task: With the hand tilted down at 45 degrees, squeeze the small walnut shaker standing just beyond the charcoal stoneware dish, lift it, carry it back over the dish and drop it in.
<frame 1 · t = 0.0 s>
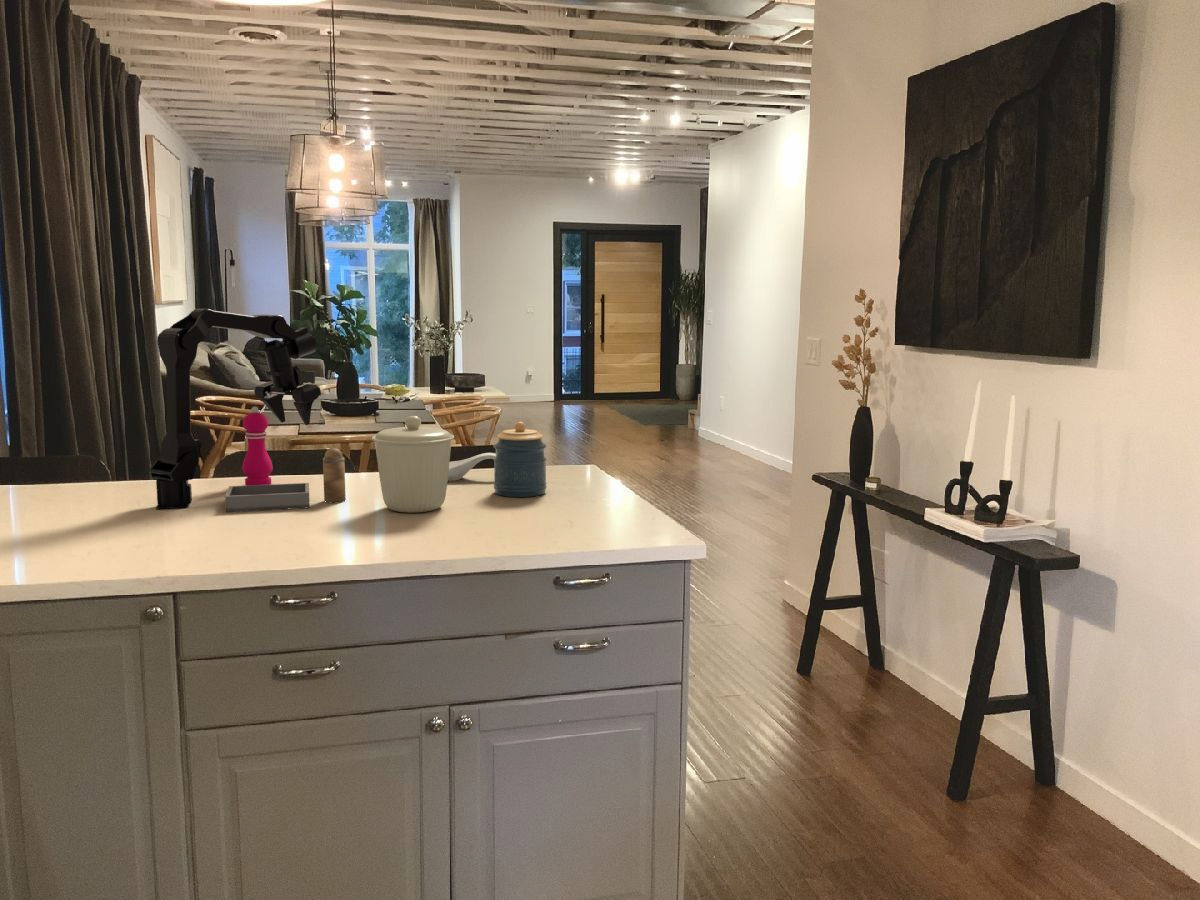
hand: (295, 423, 239), 15 cm above the table, tool pointing down, fingers open, 9 cm apart
canister: (414, 509, 212), on the table
pepper mill: (258, 485, 238), on the table
spoon rest: (469, 480, 250), on the table
dish: (269, 504, 215), on the table
canister 2: (520, 493, 232), on the table
shaker: (335, 500, 220), on the table
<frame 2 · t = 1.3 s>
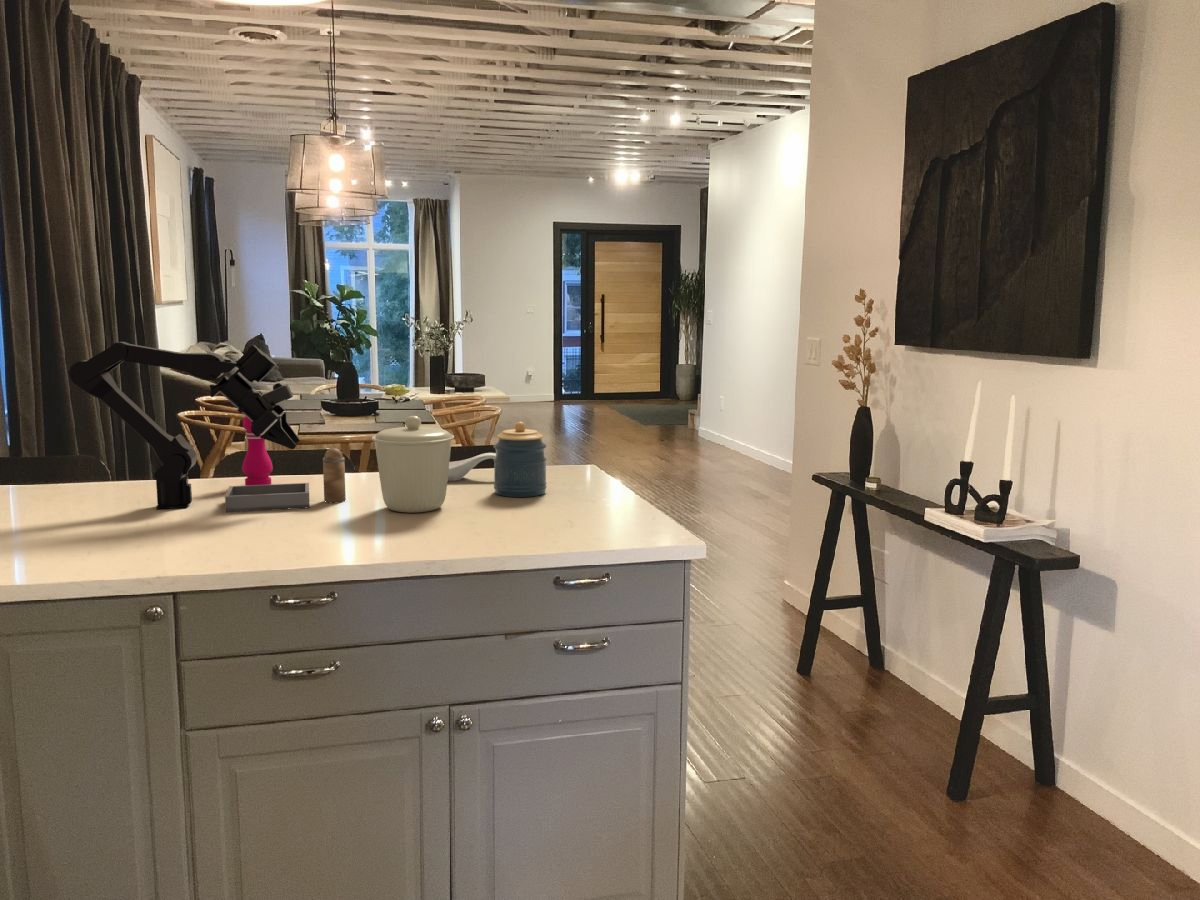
hand: (296, 444, 216), 13 cm above the table, tool tilted 45°, fingers open, 9 cm apart
nothing on the table moved.
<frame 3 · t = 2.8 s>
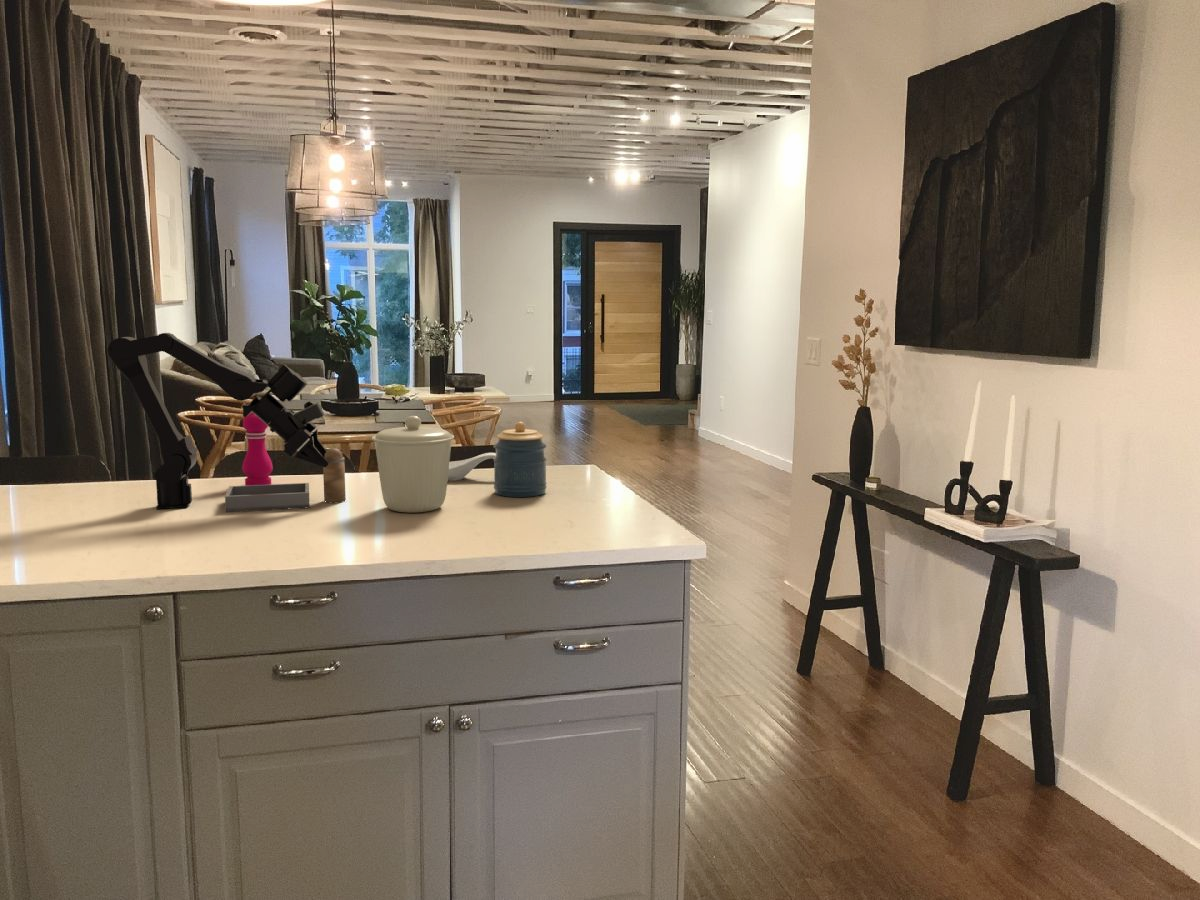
hand: (328, 462, 218), 9 cm above the table, tool tilted 45°, fingers open, 9 cm apart
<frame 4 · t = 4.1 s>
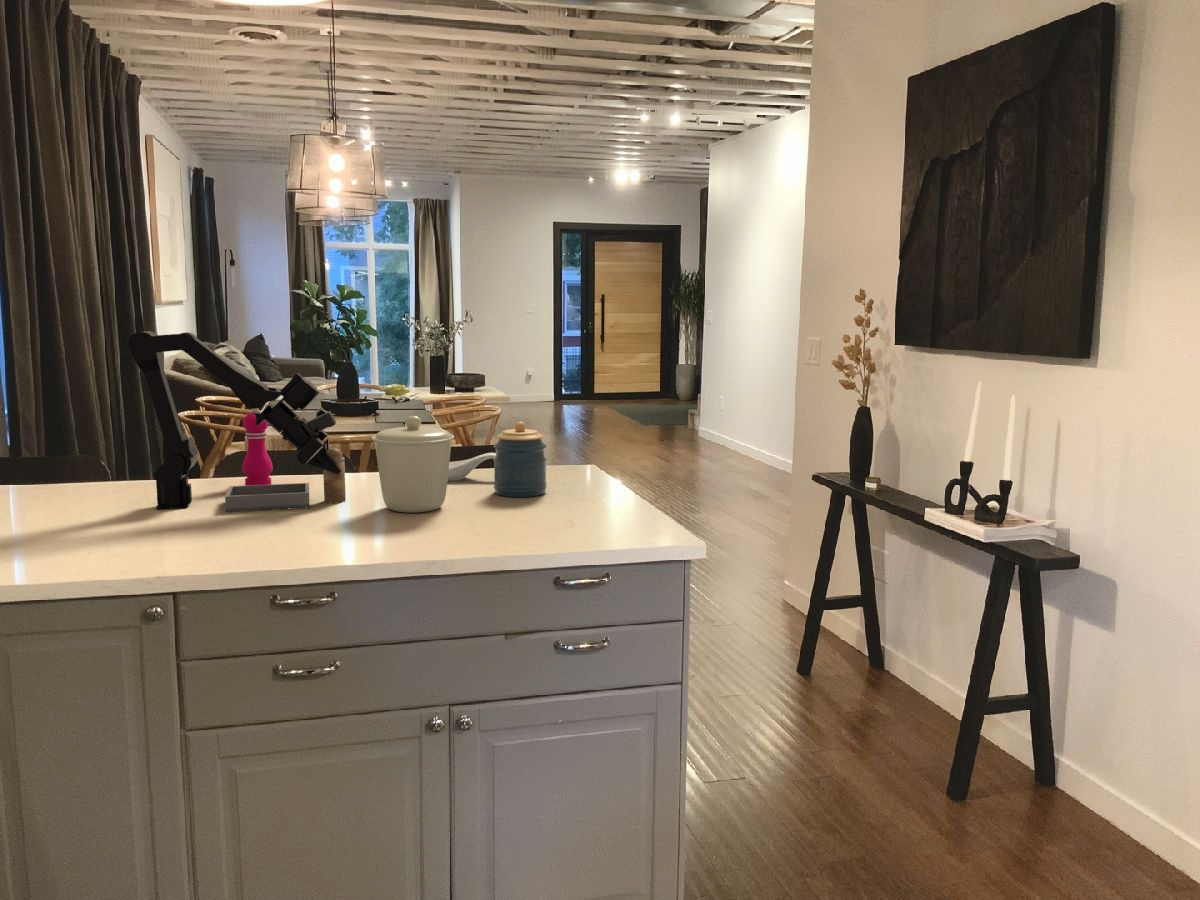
hand: (340, 470, 219), 7 cm above the table, tool tilted 45°, fingers closed on shaker, 5 cm apart
shaker: (335, 500, 220), on the table, touching gripper
everything else where it was.
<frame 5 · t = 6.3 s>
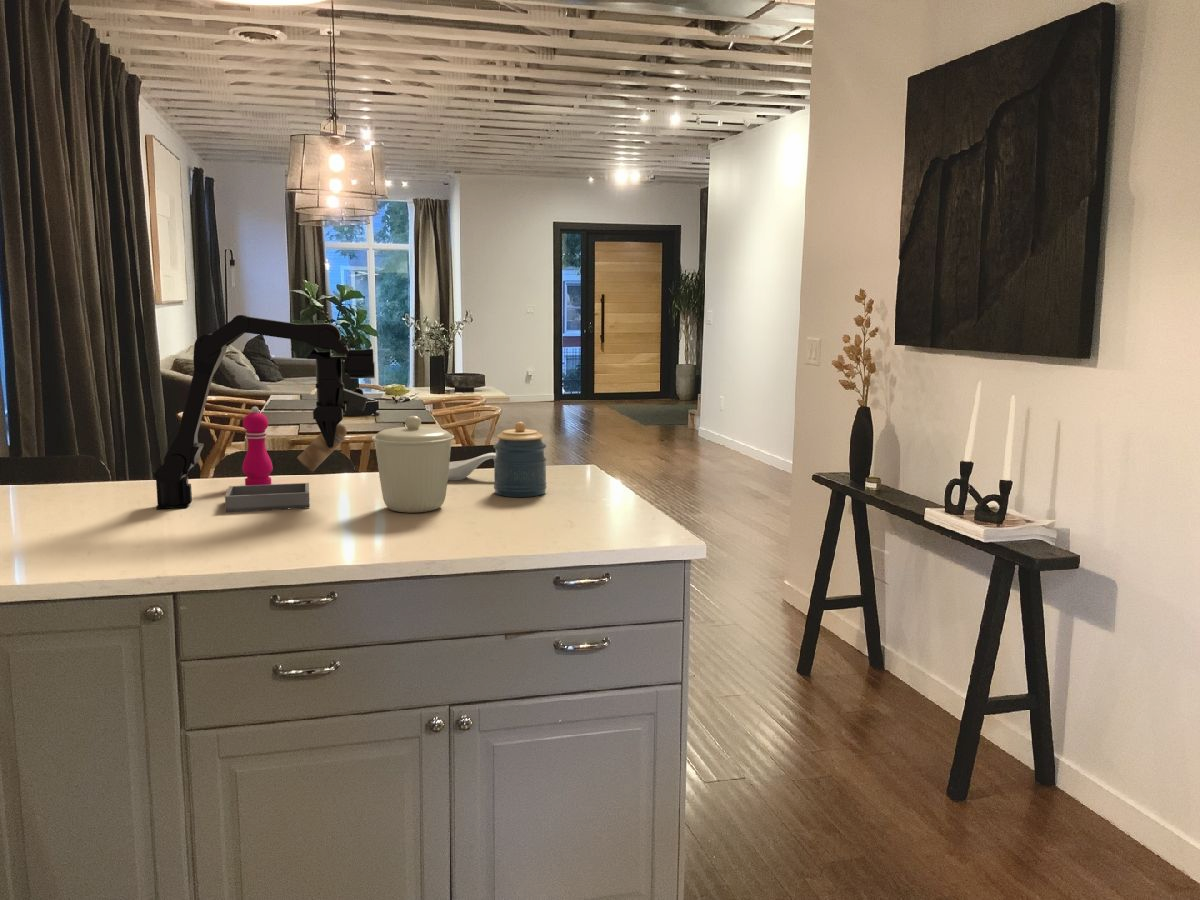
hand: (331, 446, 218), 13 cm above the table, tool pointing down, fingers closed on shaker, 5 cm apart
shaker: (305, 464, 217), point 9 cm above the table, tilted 45°, touching gripper
when the fingers open (10 cm above the table, at t = 7.9 s): shaker drops 3 cm and tips over, resting on dish.
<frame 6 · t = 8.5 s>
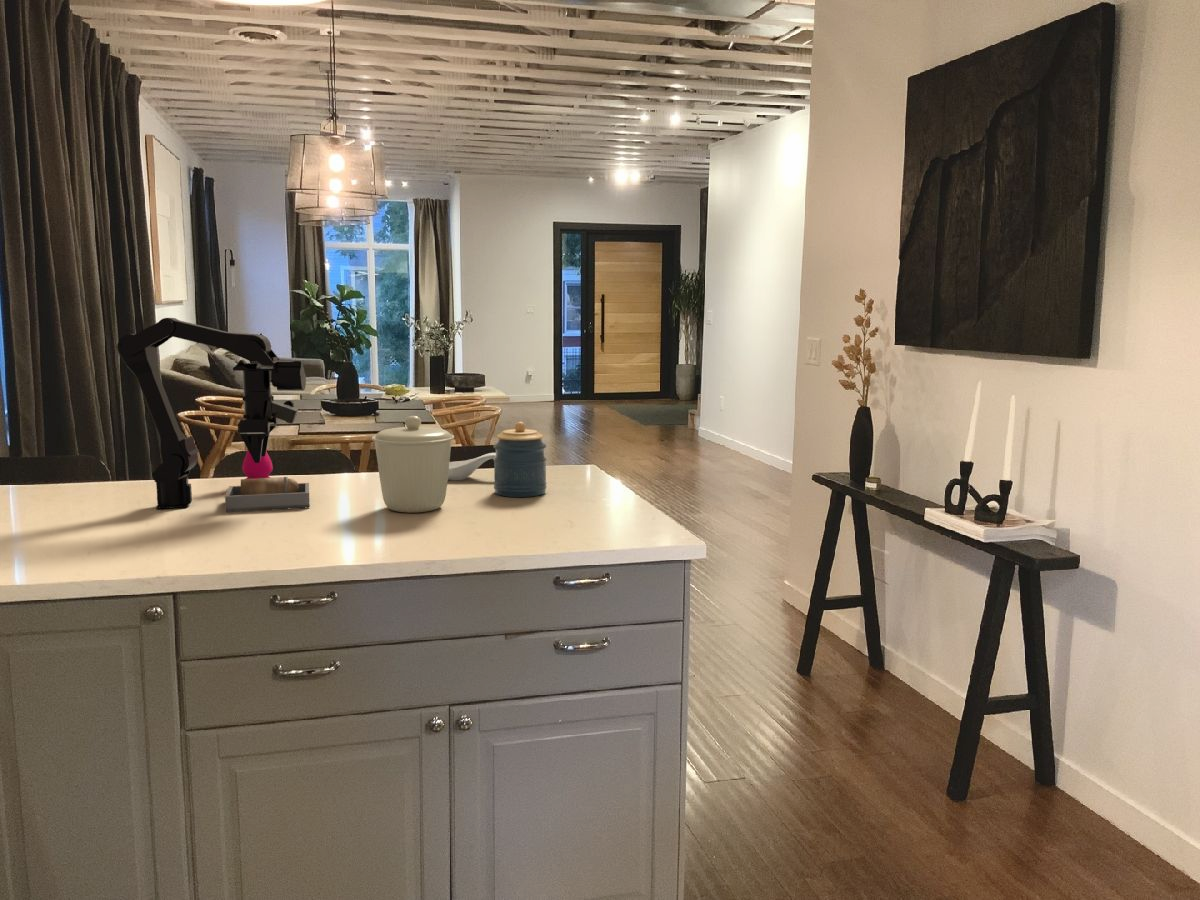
hand: (260, 459, 213), 10 cm above the table, tool pointing down, fingers open, 9 cm apart
shaker: (241, 489, 215), point 3 cm above the table, tilted 90°, touching dish
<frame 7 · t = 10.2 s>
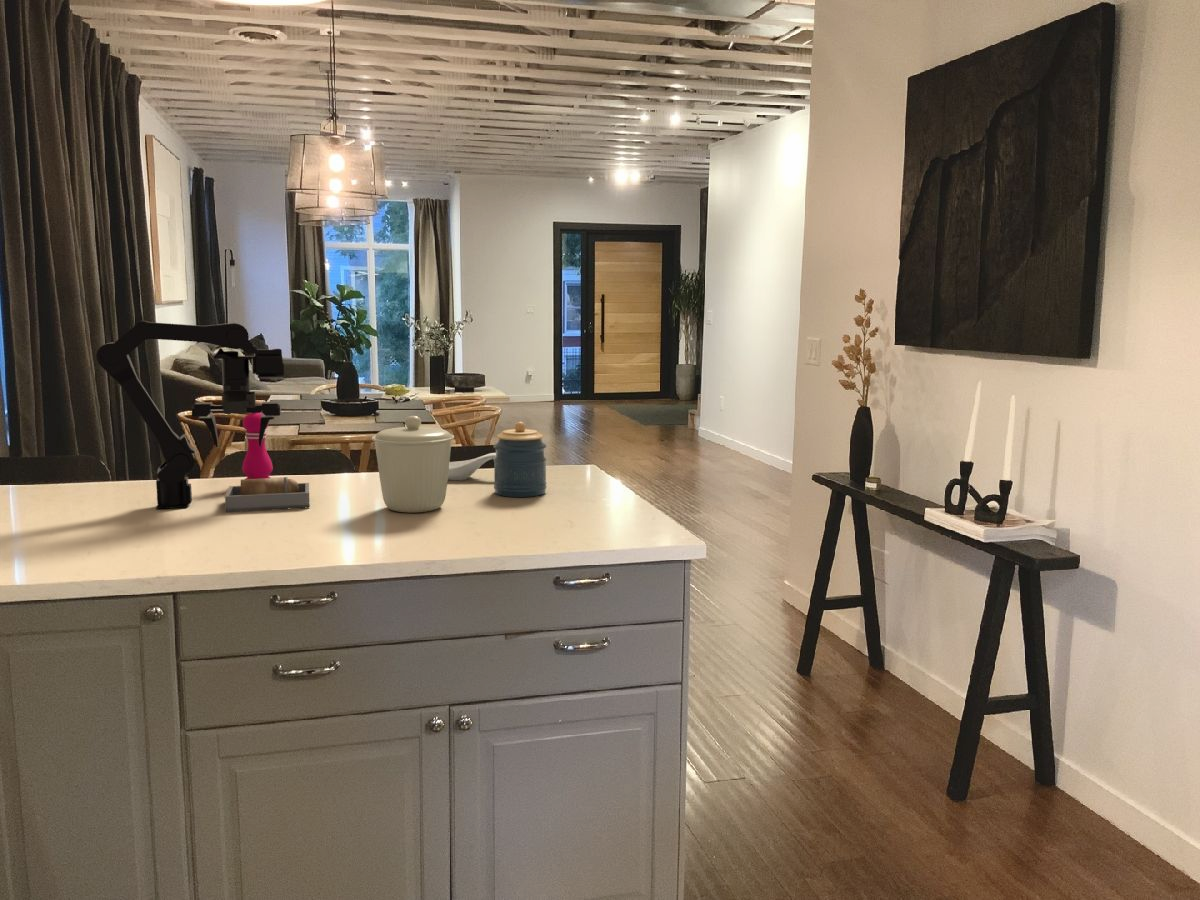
hand: (238, 446, 216), 13 cm above the table, tool pointing down, fingers open, 9 cm apart
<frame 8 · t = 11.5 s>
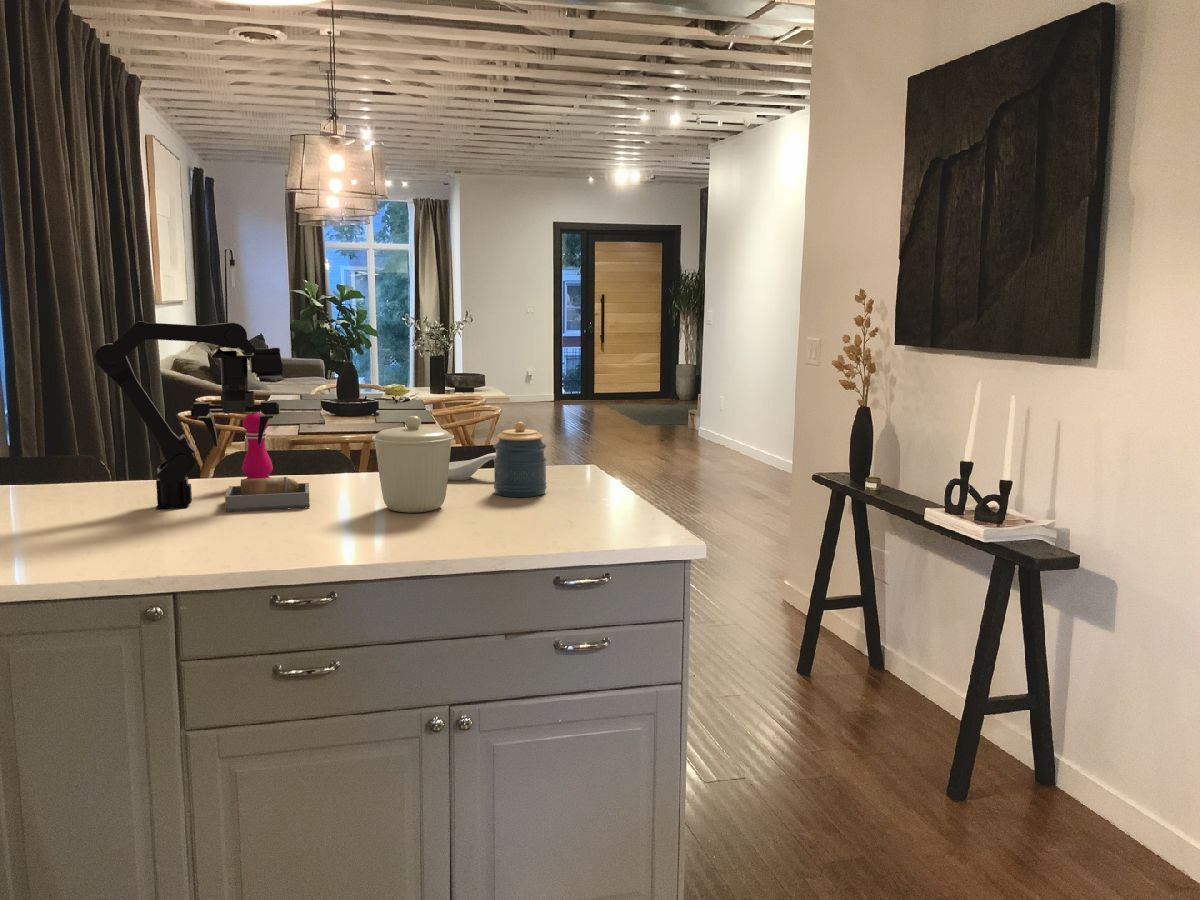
hand: (238, 445, 216), 13 cm above the table, tool pointing down, fingers open, 9 cm apart
at the end: shaker inside the target area on the dish (6.6 cm from its centre), point 3.2 cm above the dish's base; the gripper is holding nothing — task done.
